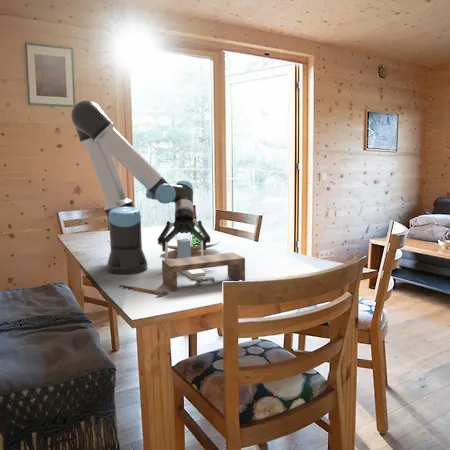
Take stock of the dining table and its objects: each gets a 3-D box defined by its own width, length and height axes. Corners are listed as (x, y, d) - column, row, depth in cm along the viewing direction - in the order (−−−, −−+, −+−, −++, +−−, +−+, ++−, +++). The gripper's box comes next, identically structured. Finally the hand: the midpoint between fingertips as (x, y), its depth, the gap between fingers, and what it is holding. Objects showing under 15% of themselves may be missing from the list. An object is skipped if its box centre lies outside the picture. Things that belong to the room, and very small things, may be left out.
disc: (199, 287, 137) (199, 282, 137) (193, 282, 143) (192, 277, 143) (217, 285, 140) (217, 279, 140) (210, 280, 146) (210, 275, 146)
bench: (171, 291, 133) (170, 266, 132) (162, 283, 142) (161, 260, 141) (245, 281, 143) (244, 257, 142) (232, 274, 152) (232, 252, 151)
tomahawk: (106, 295, 134) (105, 291, 134) (122, 286, 140) (121, 283, 140) (152, 304, 124) (152, 300, 124) (167, 294, 130) (167, 291, 130)
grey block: (192, 279, 146) (191, 248, 144) (176, 268, 162) (175, 240, 161) (205, 277, 148) (205, 247, 146) (189, 266, 164) (188, 238, 163)
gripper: (214, 218, 175) (217, 261, 163) (154, 219, 174) (151, 263, 161) (214, 206, 169) (217, 250, 157) (152, 208, 168) (149, 253, 155)
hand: (184, 257), depth 159 cm, fingers open, 13 cm apart
